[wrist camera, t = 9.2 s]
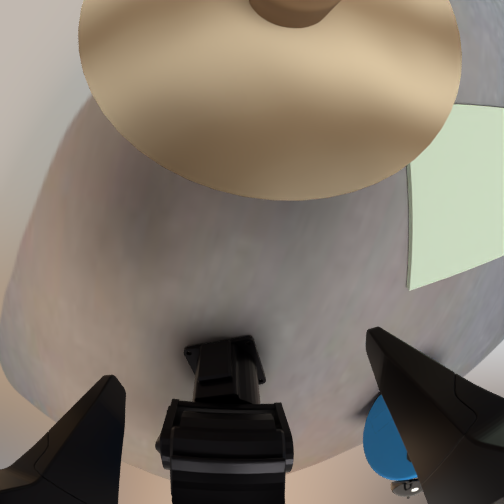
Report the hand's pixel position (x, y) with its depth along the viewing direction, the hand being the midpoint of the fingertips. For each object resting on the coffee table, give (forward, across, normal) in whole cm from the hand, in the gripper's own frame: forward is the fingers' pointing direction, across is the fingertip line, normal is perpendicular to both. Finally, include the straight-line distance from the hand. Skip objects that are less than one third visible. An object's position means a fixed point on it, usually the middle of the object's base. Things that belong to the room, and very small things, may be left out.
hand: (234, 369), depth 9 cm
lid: (+5, -5, -12) cm, 14 cm away
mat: (+13, -22, +1) cm, 25 cm away
